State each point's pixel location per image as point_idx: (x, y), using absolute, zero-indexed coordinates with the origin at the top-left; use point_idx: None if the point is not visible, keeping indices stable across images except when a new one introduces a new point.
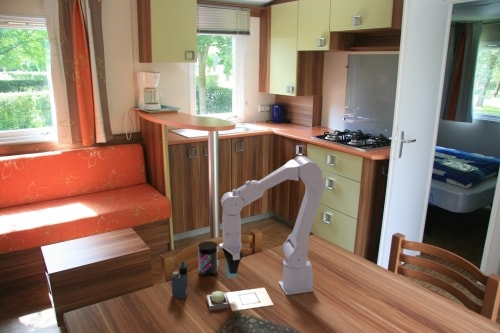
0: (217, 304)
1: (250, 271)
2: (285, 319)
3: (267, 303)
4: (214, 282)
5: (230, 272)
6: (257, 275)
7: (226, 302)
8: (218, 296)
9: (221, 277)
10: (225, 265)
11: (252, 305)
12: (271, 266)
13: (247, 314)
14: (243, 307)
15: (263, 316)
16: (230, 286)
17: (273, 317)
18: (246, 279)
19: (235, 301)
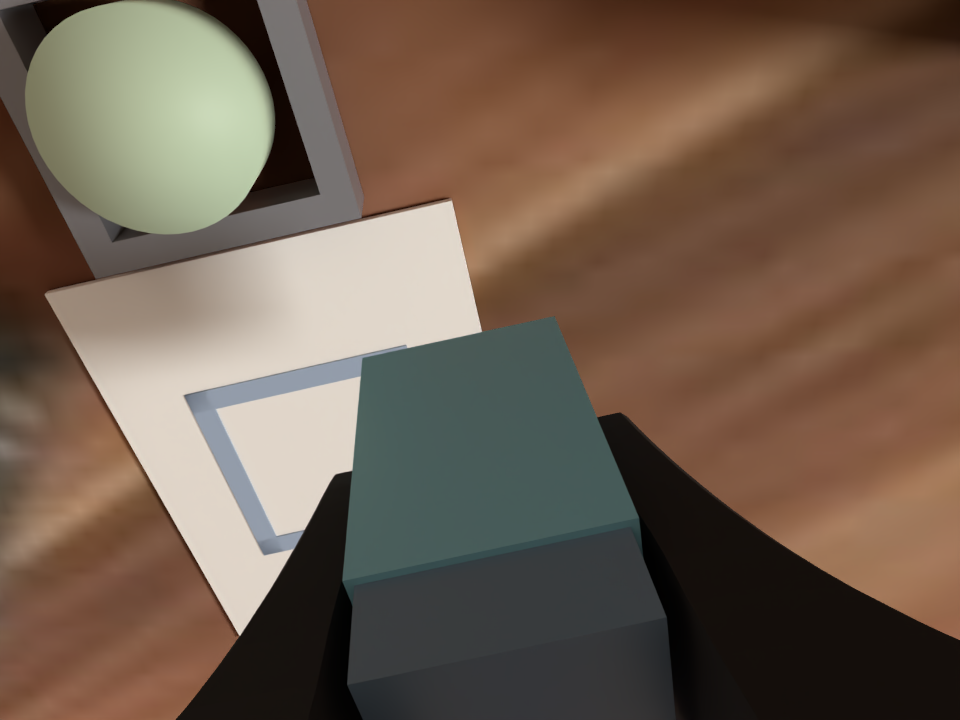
0: (21, 110)
1: (893, 451)
2: (43, 706)
3: (255, 601)
4: (760, 12)
5: (320, 501)
6: (789, 513)
7: (110, 240)
8: (94, 142)
9: (869, 117)
10: (587, 413)
11: (197, 489)
12: (917, 614)
13: (31, 444)
14: (142, 409)
15: (38, 571)
16: (614, 249)
17: (46, 637)
18: (737, 418)
19: (256, 323)
